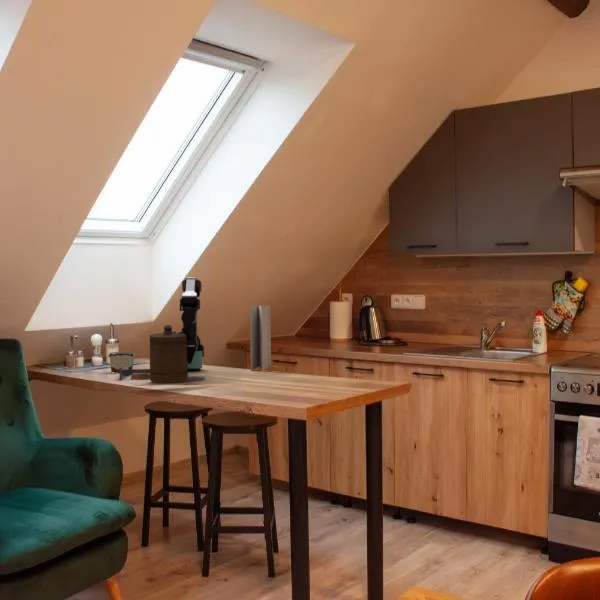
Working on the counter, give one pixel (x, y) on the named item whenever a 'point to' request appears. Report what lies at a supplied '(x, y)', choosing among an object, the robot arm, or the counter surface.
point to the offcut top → (141, 375)
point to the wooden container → (168, 357)
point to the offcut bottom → (140, 378)
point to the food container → (121, 360)
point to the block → (196, 360)
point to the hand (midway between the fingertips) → (189, 363)
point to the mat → (195, 378)
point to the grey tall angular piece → (260, 337)
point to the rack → (130, 371)
